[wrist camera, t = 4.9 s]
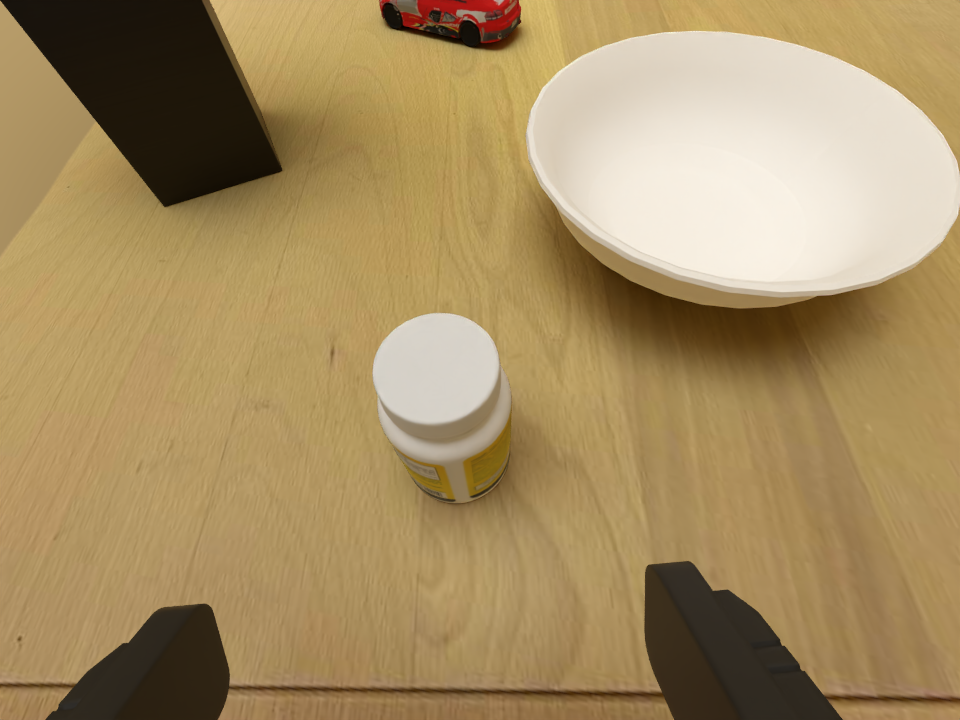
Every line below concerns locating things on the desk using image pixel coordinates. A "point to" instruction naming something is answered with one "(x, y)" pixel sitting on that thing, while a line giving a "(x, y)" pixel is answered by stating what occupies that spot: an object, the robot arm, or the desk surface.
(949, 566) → the desk surface
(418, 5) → the race car
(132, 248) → the desk surface
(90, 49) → the stand
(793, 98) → the bowl
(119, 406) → the desk surface
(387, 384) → the supplement bottle
